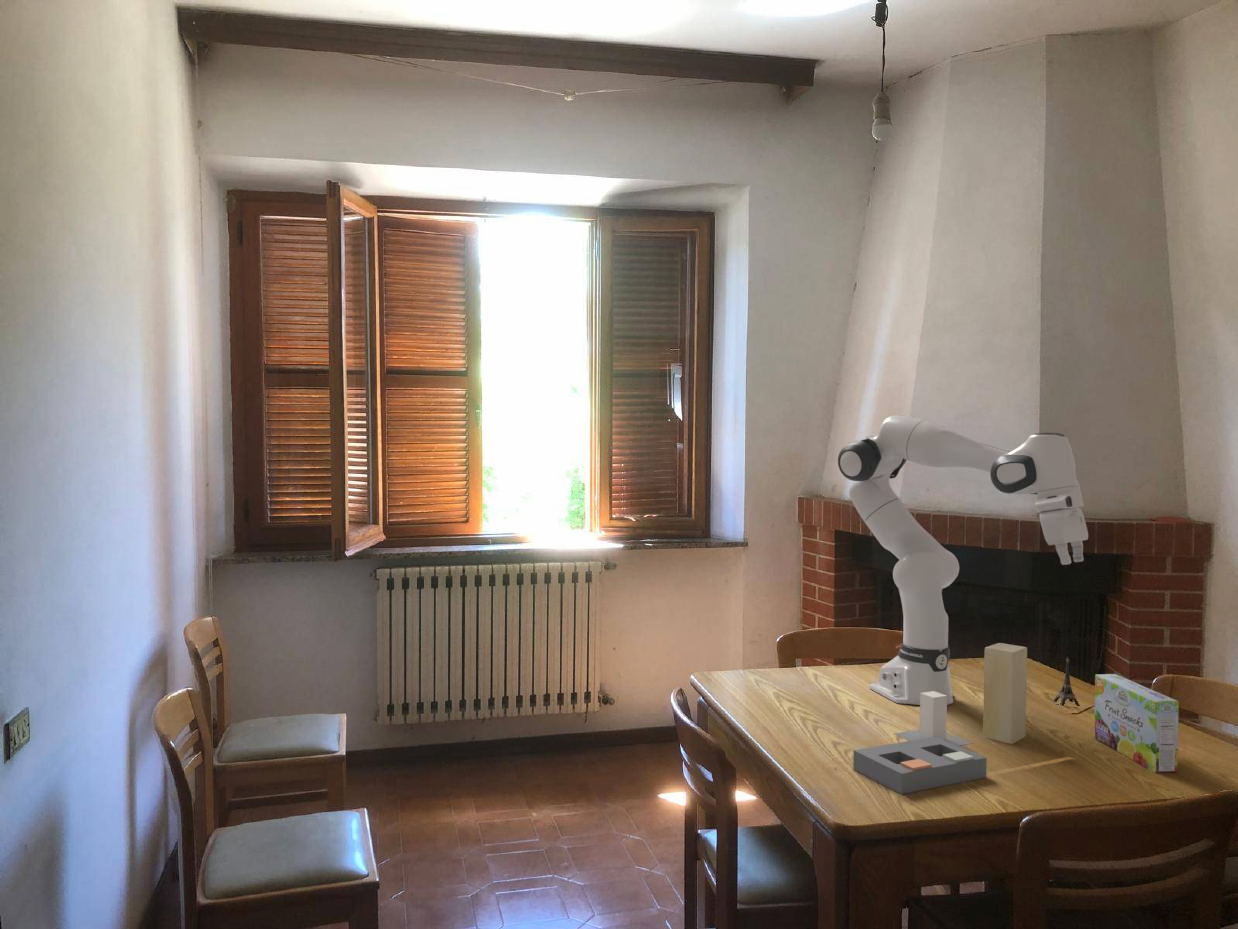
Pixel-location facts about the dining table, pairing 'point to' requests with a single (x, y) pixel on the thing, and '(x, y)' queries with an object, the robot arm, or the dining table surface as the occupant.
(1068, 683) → the eiffel tower figurine
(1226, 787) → the dining table surface
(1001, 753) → the dining table surface
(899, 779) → the socket block
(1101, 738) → the snack box
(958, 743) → the rubber mat
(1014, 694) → the tall beige block
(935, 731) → the plug
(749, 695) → the dining table surface
